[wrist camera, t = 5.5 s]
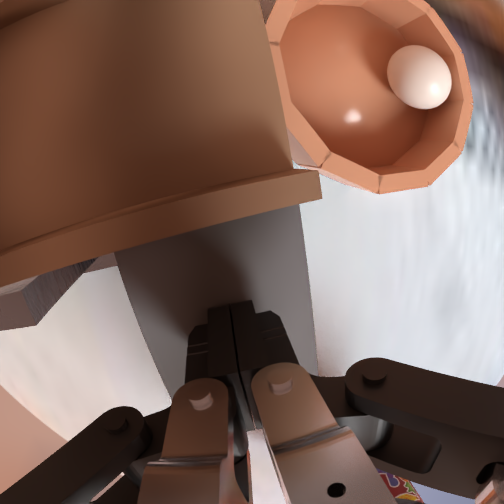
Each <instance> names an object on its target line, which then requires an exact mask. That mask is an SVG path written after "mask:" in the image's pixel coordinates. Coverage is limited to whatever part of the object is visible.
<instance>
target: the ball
mask: <svg viewBox="0 0 504 504" xmlns="http://www.w3.org/2000/svg"><path fill="white" fill-rule="evenodd" d="M387 77H388V81H389V84H390V87H391V89H392V90H393V92H394V93H395V95H396V96H397V97H398V98H399V99H400V100H401V101H403V102H404V103H406V104H407V105H409V106H412V107H414V108H418V109H431V108H434V107H437V106H439V105H440V104H442V103H443V102H444V101H445V100H446V99H447V97H448V95H449V93H450V90H451V85H452V79H451V74H450V71H449V68H448V66H447V64H446V63H445V61H444V60H443V59H442V58H441V57H440V56H439V55H438V54H437V53H436V52H434V51H433V50H431V49H429V48H427V47H424V46H419V45H409V46H405V47H403V48H401V49H399V50H397V51H396V52H395V53H394V54H393V55H392V57H391V58H390V60H389V63H388V67H387Z"/></svg>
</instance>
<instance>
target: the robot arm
mask: <svg viewBox="0 0 504 504" xmlns="http://www.w3.org/2000/svg"><path fill="white" fill-rule="evenodd" d="M231 311H232V313H231ZM251 411H252V412H251ZM252 415H253V417H252ZM253 418H254V422H255V425H256V428H257V429H261V428H262V429H263V433H264V436H265V440H266V444H267V447H268V451H269V454H270V457H271V460H272V463H273V466H274V469H275V472H276V475H277V478H278V481H279V484H280V487H281V490H282V492H283V495H284V498H285V501H286V504H425V503H421V502H418V501H414V500H409V499H401V498H394V497H393V495H392V494H391V492H390V491H389V489H388V487H387V486H386V484H385V483H384V481H383V479H382V478H381V476H380V474H379V473H378V471H377V470H376V468H377V469H379V470H382V471H384V472H387V473H390V474H392V475H395V476H398V477H401V478H403V479H406V480H409V481H412V482H415V483H418V484H421V485H424V486H427V487H431V488H434V489H437V490H440V491H444V492H447V493H451V494H455V495H459V496H463V497H466V498H471V499H475V504H504V388H502V387H497V386H492V385H488V384H483V383H479V382H474V381H470V380H466V379H461V378H457V377H453V376H449V375H445V374H441V373H437V372H433V371H429V370H425V369H422V368H418V367H414V366H410V365H407V364H403V363H399V362H396V361H392V360H389V359H385V358H367V359H363V360H361V361H358V362H356V363H355V364H353V365H352V366H351V367H350V368H349V369H348V371H347V372H346V375H345V376H343V377H319V376H315V375H312V374H310V373H308V372H307V371H306V369H304V368H303V367H302V366H300V364H299V362H298V359H297V357H296V354H295V352H294V349H293V347H292V345H291V342H290V340H289V337H288V335H287V332H286V330H285V328H284V325H283V323H282V320H281V318H280V316H278V315H277V314H275V313H274V312H272V311H271V310H269V311H265V312H260V313H255V309H254V306H253V302H252V300H247V301H242V302H237V303H233V304H231V309H230V305H229V304H228V305H223V306H219V307H214V308H209V309H208V324H202V325H197V326H195V327H194V328H193V330H192V331H191V333H190V334H189V336H188V347H187V357H186V369H185V382H184V385H183V386H181V387H180V388H179V389H178V390H177V391H176V392H175V394H174V396H173V399H172V404H171V406H170V407H168V408H166V409H164V410H162V411H159V412H156V413H154V414H151V415H148V416H145V417H143V416H142V414H141V413H140V412H139V411H138V410H137V409H135V408H133V407H128V406H121V407H116V408H113V409H110V410H108V411H106V412H105V413H103V414H102V415H101V416H100V417H98V418H97V419H96V420H95V421H93V422H92V423H91V424H90V425H89V426H87V427H86V428H85V429H84V430H82V431H81V432H80V433H79V434H77V435H76V436H75V437H74V438H72V439H71V440H70V441H69V442H67V443H66V444H65V445H64V446H62V447H61V448H60V449H59V450H57V451H56V452H55V453H54V454H52V455H51V456H50V457H49V458H47V459H46V460H45V461H44V462H42V463H41V464H40V465H38V466H37V467H36V468H35V469H33V470H32V471H30V472H29V473H28V474H27V475H25V476H24V477H23V478H21V479H20V480H19V481H18V482H16V483H15V484H14V485H12V486H11V487H10V488H8V489H7V490H6V491H4V492H3V493H2V494H0V504H253V497H252V481H251V465H250V453H249V449H248V437H247V431H252V430H255V429H254V423H253ZM122 472H123V473H124V474H125V475H124V476H123V477H122V478H120V479H119V480H118V481H117V482H116V483H115V484H114V485H113V486H112V487H111V488H109V489H108V490H107V491H106V492H105V493H104V494H103V495H102V496H101V497H99V498H98V499H97V500H95V501H93V502H90V501H91V499H92V498H93V497H94V496H96V495H97V494H98V493H99V492H100V491H101V490H103V489H104V488H105V487H106V486H107V485H108V484H109V483H110V482H112V481H113V480H114V479H115V478H116V477H117V476H118V475H119V474H120V473H122Z"/></svg>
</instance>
